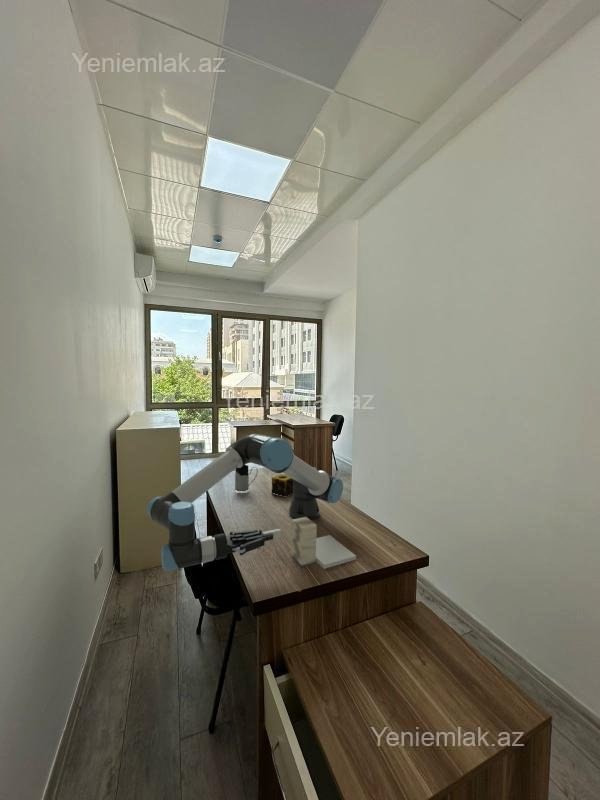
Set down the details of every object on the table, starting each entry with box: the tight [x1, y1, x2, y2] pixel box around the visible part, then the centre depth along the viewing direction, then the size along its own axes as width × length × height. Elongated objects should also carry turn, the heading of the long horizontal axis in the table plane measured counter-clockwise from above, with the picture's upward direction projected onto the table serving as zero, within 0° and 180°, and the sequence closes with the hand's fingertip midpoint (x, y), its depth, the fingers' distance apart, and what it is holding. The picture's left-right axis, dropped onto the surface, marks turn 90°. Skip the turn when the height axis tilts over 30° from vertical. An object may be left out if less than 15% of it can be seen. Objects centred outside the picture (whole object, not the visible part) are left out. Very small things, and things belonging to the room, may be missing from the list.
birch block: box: [291, 517, 318, 567], centre depth 121 cm, size 8×6×14 cm
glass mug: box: [234, 464, 259, 491], centre depth 195 cm, size 9×14×15 cm, turn 119°
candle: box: [271, 473, 293, 497], centre depth 191 cm, size 10×10×10 cm
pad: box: [315, 534, 357, 570], centre depth 127 cm, size 18×14×2 cm
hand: (280, 533), depth 116 cm, fingers closed
